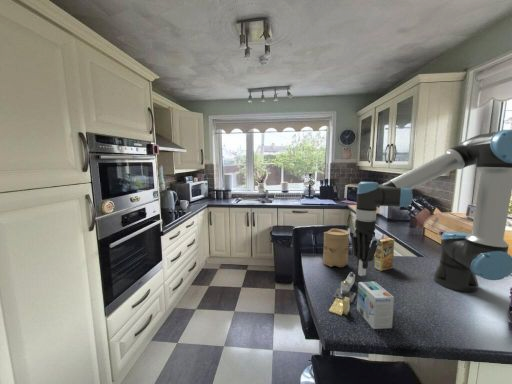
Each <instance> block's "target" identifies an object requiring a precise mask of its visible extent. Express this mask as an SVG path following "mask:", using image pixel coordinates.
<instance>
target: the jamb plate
mask: <svg viewBox="0 0 512 384" xmlns="http://www.w3.org/2000/svg"><path fill="white" fill-rule="evenodd" d="M356 295H357V293H356V292H354V291H351V290H350V291H349V295H342V294H341V287H340V288H339V287H338V288H337V289H336V291H335V292H334V294H333V295H332V296H333V298H334V299H336V298H338V299H341V300H344V298H345V297H348V298H350V304H352V303H353V302H354V300H355V298H356Z"/></svg>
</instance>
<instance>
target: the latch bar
mask: <svg viewBox="0 0 512 384" xmlns="http://www.w3.org/2000/svg"><path fill="white" fill-rule="evenodd" d="M355 281H356V274H355V273H354V271H349V273H348V275H347V277H346V278H345V279H344V280H342V281H340V289H341V294H342V295H349V291H350V292H351V289H352V288H353V286H354V283H355Z"/></svg>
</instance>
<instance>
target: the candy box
mask: <svg viewBox="0 0 512 384" xmlns="http://www.w3.org/2000/svg"><path fill="white" fill-rule="evenodd" d="M376 239H377V238H376ZM377 240H380V243H379V244H378V246H377V249H376V252H375V255H374V269H376V270H378V271H380V272H381V271H386V270H390V269H393V268H394V256H395V255H394V254H395V239H394V238H390V237H383V238H378V239H377Z"/></svg>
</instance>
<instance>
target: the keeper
mask: <svg viewBox="0 0 512 384" xmlns="http://www.w3.org/2000/svg"><path fill="white" fill-rule="evenodd" d="M350 304H351V303H350V298H348V297H345V298H344V300H341V299H338V298H334V301H333V302H332V304H331V306H330V308H329V309H328V312H329V313H331V314H335V315H338V316H340V317H342V316H343V315H345V316H348V314H349V312H350Z"/></svg>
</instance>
